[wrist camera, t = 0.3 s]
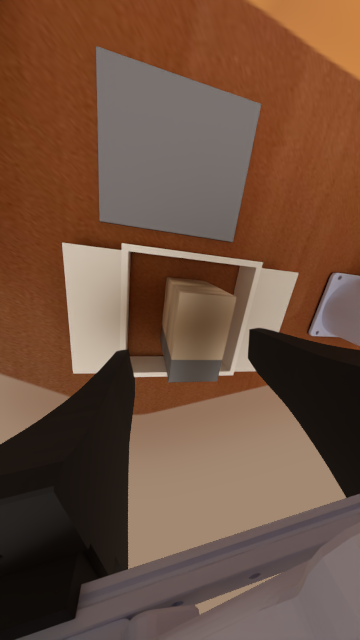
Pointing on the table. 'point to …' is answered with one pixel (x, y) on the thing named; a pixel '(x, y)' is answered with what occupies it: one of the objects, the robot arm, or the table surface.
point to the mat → (170, 149)
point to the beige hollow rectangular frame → (113, 306)
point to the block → (194, 329)
